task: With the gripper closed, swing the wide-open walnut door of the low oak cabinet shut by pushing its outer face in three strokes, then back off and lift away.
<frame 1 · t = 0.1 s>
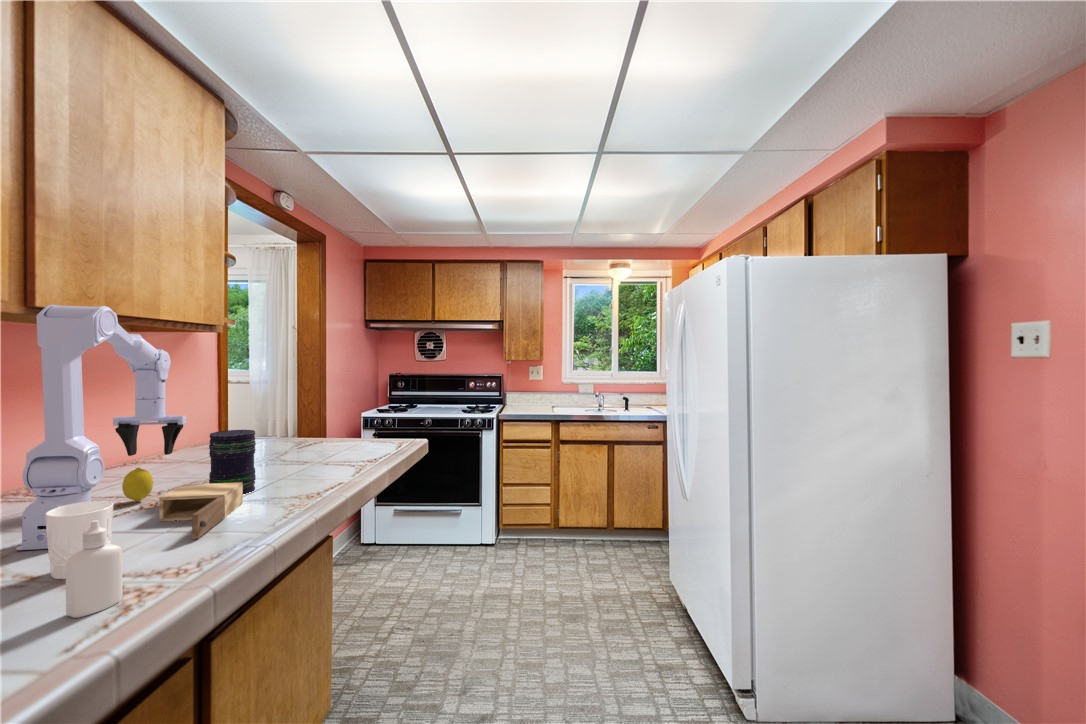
hand: (150, 454, 118), 10 cm above the countertop, tool pointing down, fingers open, 7 cm apart
white cup: (80, 571, 78), on the countertop
door: (212, 516, 97), point 2 cm above the countertop, hinge at 90.0°
storage jar: (232, 492, 122), on the countertop
eye dropper bottle: (95, 609, 66), on the countertop
lemon: (137, 502, 113), on the countertop
cabinet: (203, 512, 107), on the countertop
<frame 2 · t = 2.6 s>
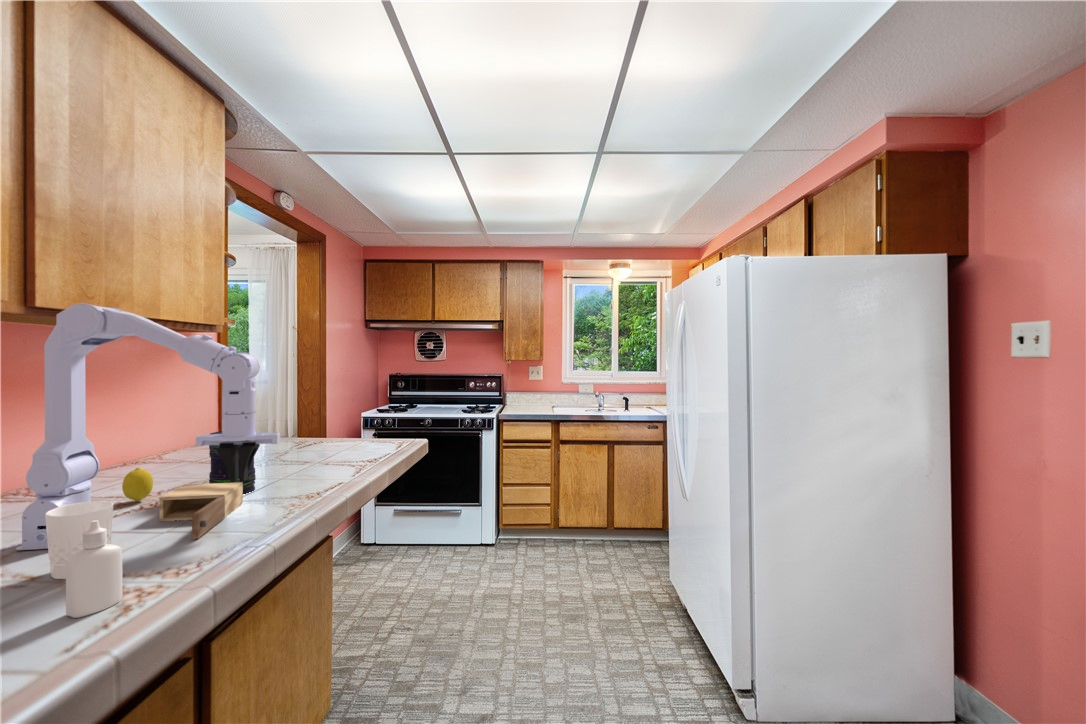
hand: (238, 480, 98), 9 cm above the countertop, tool pointing down, fingers closed
nothing on the countertop moved.
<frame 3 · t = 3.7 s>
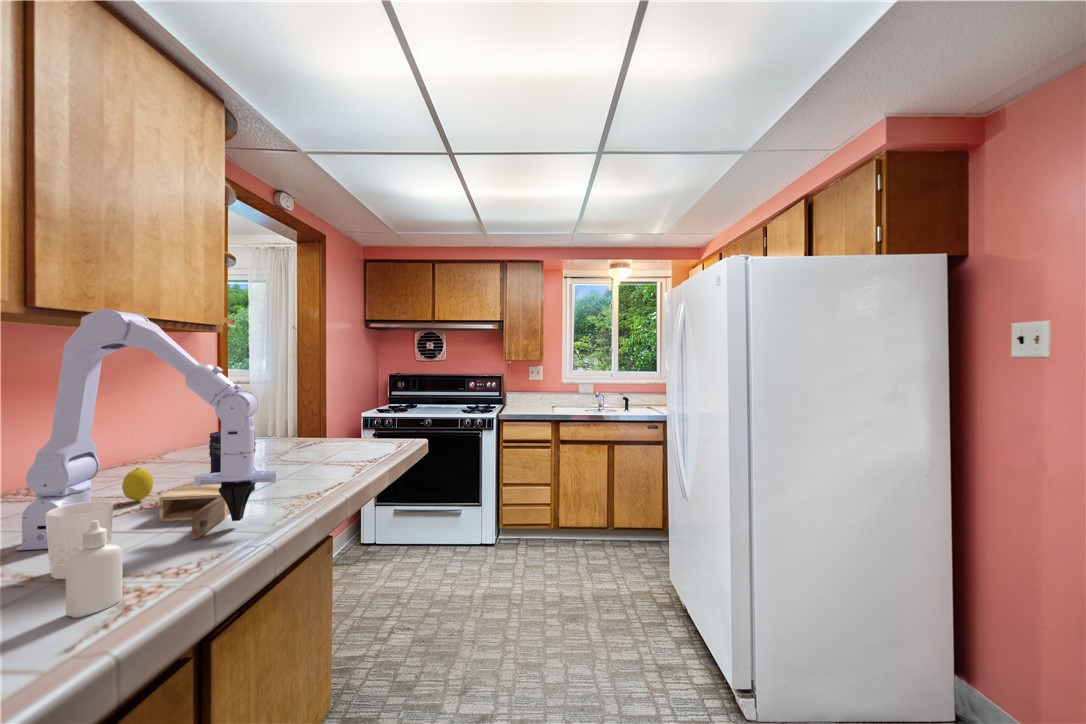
hand: (237, 519, 98), 2 cm above the countertop, tool pointing down, fingers closed
nothing on the countertop moved.
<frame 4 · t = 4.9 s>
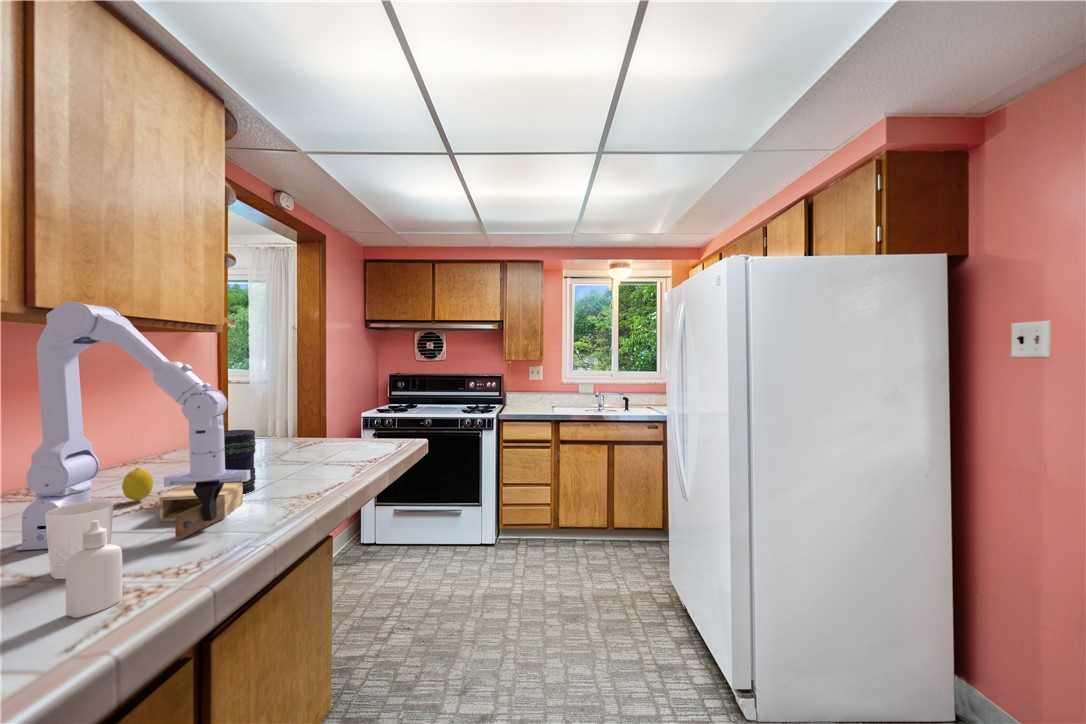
hand: (209, 519, 97), 2 cm above the countertop, tool pointing down, fingers closed, pressing on door
door: (204, 516, 96), point 2 cm above the countertop, hinge at 75.4°, touching gripper
everything else where it was.
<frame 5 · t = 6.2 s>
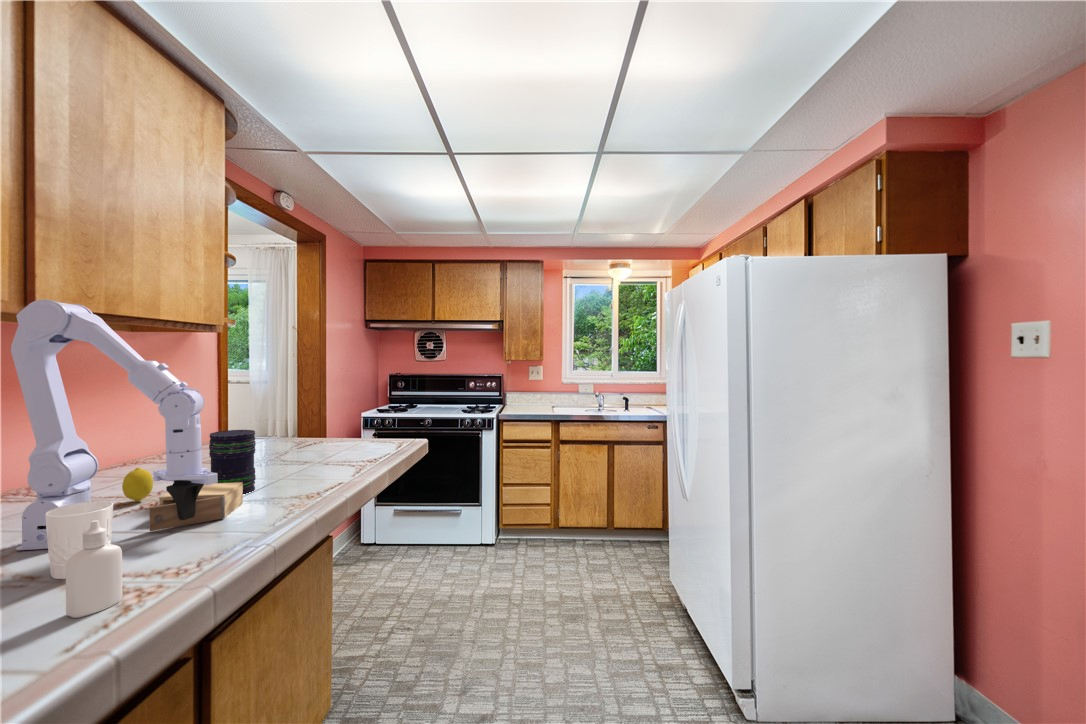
hand: (186, 518, 97), 2 cm above the countertop, tool pointing down, fingers closed, pressing on door
door: (189, 513, 98), point 2 cm above the countertop, hinge at 28.2°, touching gripper
everything else where it was.
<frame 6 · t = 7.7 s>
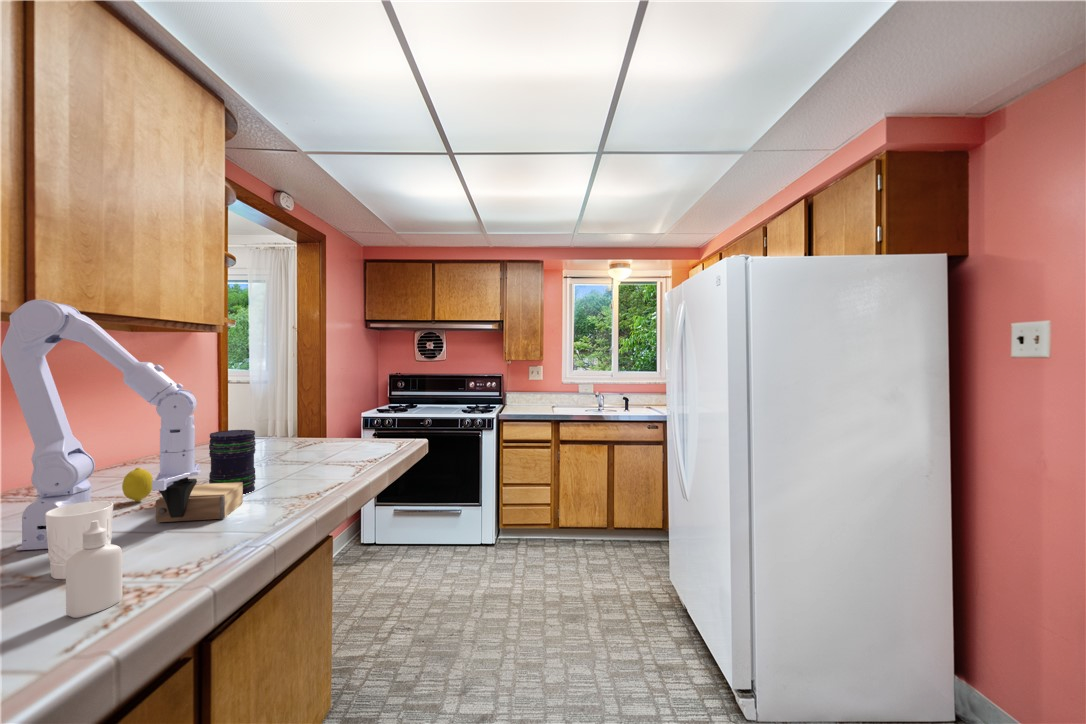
hand: (177, 516, 99), 2 cm above the countertop, tool pointing down, fingers closed
door: (190, 509, 100), point 2 cm above the countertop, hinge at 0.0°, touching gripper
everything else where it was.
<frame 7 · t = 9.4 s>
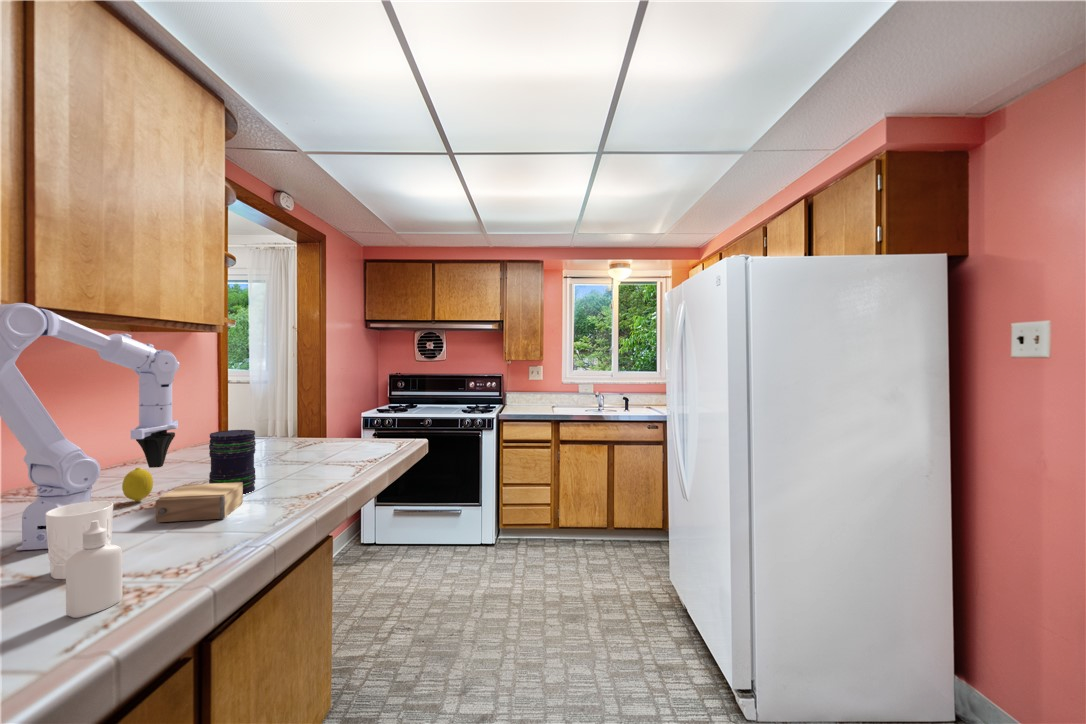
hand: (156, 466, 106), 10 cm above the countertop, tool pointing down, fingers closed
door: (190, 509, 100), point 2 cm above the countertop, hinge at 0.0°
everything else where it was.
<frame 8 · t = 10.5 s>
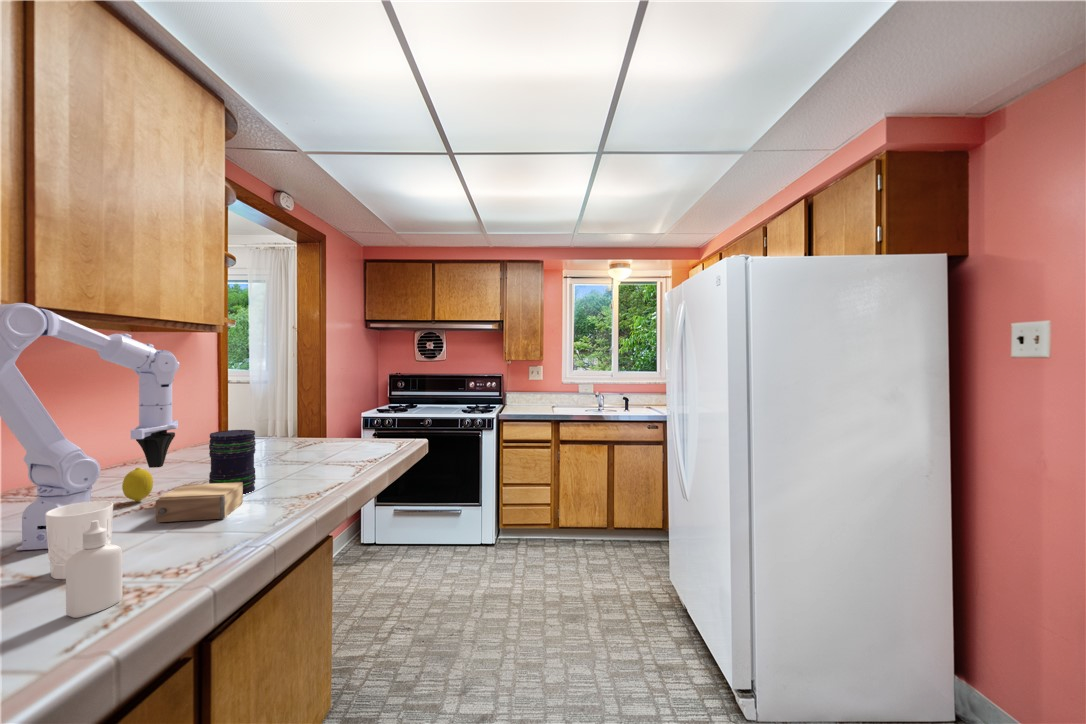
hand: (156, 466, 106), 10 cm above the countertop, tool pointing down, fingers closed
nothing on the countertop moved.
at the end: door at +0° (first picture: +90°) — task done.
